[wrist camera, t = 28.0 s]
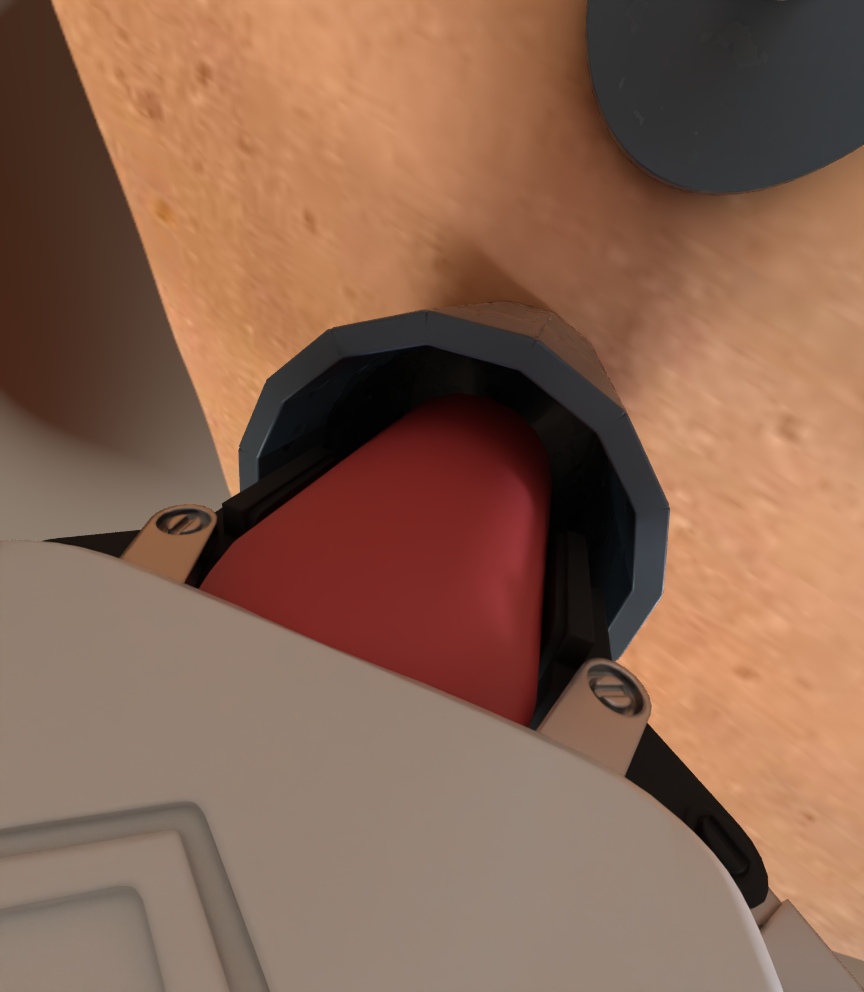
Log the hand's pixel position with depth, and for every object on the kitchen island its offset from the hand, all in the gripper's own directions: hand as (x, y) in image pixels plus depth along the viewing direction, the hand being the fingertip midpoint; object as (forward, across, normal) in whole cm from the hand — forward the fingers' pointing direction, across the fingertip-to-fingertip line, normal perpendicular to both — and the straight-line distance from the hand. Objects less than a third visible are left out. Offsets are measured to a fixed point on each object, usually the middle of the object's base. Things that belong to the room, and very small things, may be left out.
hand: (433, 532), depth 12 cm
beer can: (+5, 0, 0) cm, 5 cm away
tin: (+14, 0, 0) cm, 14 cm away
